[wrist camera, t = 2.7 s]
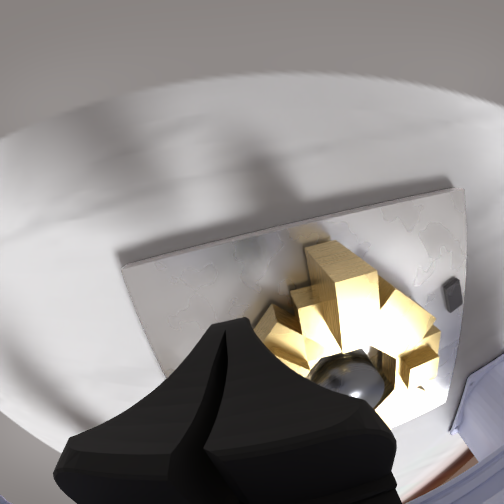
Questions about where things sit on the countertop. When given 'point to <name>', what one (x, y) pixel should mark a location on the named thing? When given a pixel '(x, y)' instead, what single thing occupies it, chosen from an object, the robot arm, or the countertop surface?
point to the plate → (297, 276)
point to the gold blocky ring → (355, 326)
